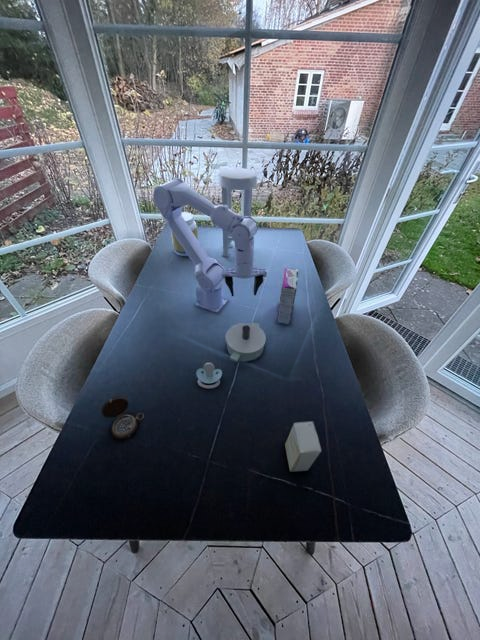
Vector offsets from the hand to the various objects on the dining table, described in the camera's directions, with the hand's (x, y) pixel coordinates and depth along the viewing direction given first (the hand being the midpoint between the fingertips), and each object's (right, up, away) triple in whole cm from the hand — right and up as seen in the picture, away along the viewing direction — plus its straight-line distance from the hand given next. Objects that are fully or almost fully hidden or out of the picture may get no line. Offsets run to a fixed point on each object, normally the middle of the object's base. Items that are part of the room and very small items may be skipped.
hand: (243, 294), depth 91 cm
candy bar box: (+15, -7, +7) cm, 18 cm away
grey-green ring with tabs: (0, -18, -5) cm, 18 cm away
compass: (-30, -35, -24) cm, 52 cm away
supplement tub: (-27, +25, +39) cm, 54 cm away
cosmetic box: (+12, -41, -29) cm, 52 cm away
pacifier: (-10, -27, -14) cm, 32 cm away
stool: (-3, +25, +40) cm, 47 cm away
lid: (+1, -15, -8) cm, 17 cm away
